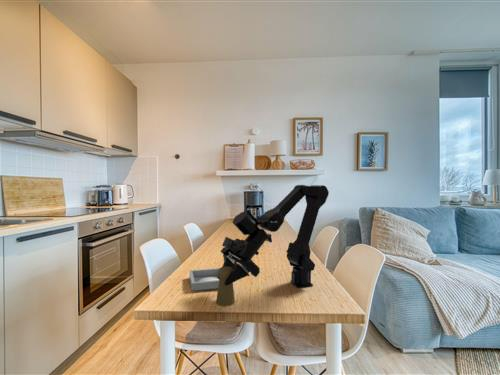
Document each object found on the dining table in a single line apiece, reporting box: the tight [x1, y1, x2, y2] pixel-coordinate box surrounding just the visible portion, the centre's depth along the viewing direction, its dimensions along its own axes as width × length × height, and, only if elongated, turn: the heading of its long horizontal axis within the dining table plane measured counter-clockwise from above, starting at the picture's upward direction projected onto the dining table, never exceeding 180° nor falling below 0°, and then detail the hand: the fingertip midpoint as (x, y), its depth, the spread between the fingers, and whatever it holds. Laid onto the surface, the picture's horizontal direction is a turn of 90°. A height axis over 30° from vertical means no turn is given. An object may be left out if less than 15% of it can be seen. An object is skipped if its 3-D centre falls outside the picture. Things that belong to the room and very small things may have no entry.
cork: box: [215, 266, 236, 307], centre depth 80 cm, size 6×6×11 cm
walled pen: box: [189, 267, 220, 293], centre depth 95 cm, size 14×14×3 cm
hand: (221, 281), depth 79 cm, fingers closed on cork, 5 cm apart
